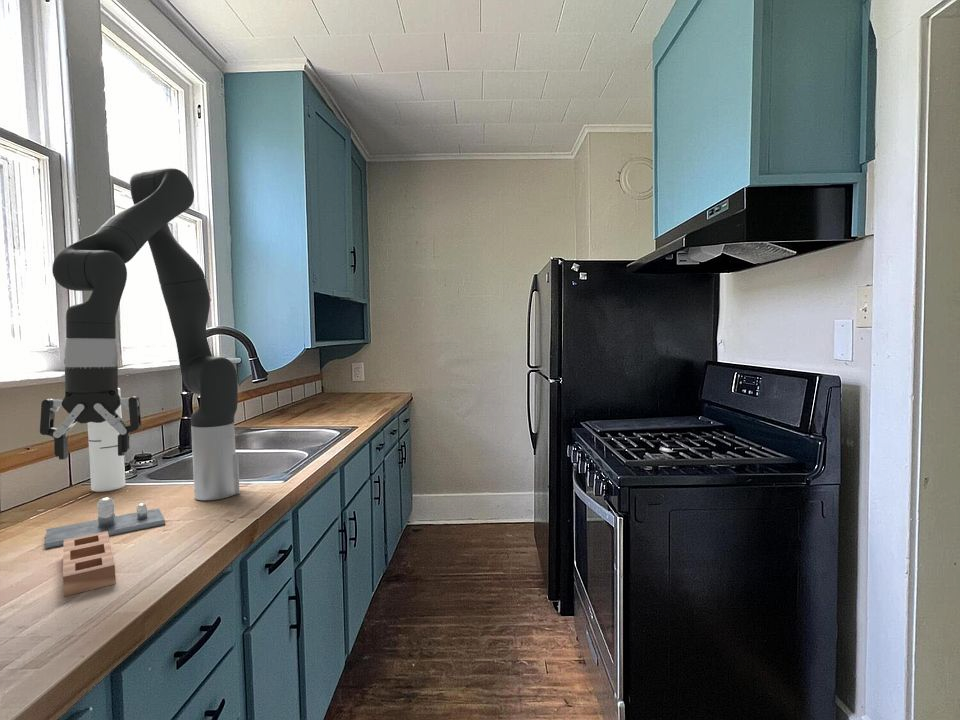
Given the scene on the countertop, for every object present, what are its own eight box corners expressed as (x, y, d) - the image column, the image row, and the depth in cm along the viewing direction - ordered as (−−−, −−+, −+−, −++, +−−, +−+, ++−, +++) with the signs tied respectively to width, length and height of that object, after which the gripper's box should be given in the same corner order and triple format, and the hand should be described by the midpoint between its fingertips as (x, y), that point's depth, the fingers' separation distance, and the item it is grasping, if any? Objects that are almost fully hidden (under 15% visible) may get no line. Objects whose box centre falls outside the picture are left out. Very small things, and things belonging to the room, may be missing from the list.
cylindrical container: (102, 483, 139) (97, 388, 137) (131, 482, 140) (126, 387, 138) (84, 492, 132) (78, 391, 130) (115, 491, 132) (109, 390, 131)
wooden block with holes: (64, 556, 94) (63, 539, 94) (108, 547, 98) (107, 531, 98) (64, 596, 80) (62, 576, 80) (115, 583, 84) (114, 564, 84)
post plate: (159, 512, 116) (157, 483, 116) (165, 524, 109) (163, 493, 109) (46, 534, 105) (44, 502, 104) (45, 548, 98) (43, 514, 97)
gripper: (143, 363, 100) (144, 450, 100) (49, 364, 94) (50, 456, 95) (134, 364, 93) (135, 458, 93) (32, 365, 87) (34, 464, 88)
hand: (92, 456), depth 94 cm, fingers open, 8 cm apart
